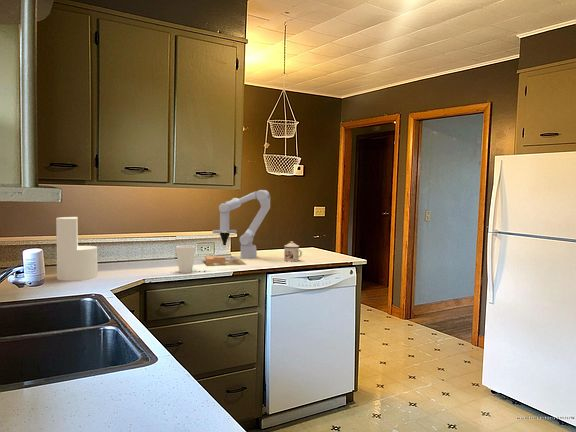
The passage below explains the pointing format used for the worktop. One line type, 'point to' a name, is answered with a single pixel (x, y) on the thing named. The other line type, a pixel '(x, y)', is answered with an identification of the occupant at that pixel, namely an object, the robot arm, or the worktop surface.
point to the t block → (214, 260)
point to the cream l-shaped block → (73, 253)
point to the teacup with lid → (292, 252)
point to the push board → (227, 263)
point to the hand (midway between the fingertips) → (224, 245)
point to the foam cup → (185, 258)
